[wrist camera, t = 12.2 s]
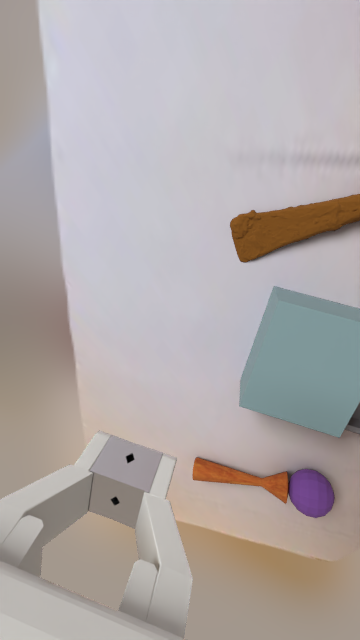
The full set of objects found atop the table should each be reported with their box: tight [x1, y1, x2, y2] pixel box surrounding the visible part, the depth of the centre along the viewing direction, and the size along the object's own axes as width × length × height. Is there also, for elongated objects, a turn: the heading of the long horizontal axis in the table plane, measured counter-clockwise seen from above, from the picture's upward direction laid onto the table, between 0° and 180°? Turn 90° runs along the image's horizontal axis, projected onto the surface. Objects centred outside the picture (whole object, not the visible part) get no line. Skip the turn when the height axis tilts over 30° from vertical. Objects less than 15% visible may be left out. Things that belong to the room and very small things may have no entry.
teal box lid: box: [239, 286, 360, 438], centre depth 35 cm, size 14×12×6 cm
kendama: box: [193, 457, 334, 518], centre depth 44 cm, size 6×6×20 cm
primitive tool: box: [230, 194, 360, 262], centre depth 31 cm, size 19×6×4 cm, turn 110°
